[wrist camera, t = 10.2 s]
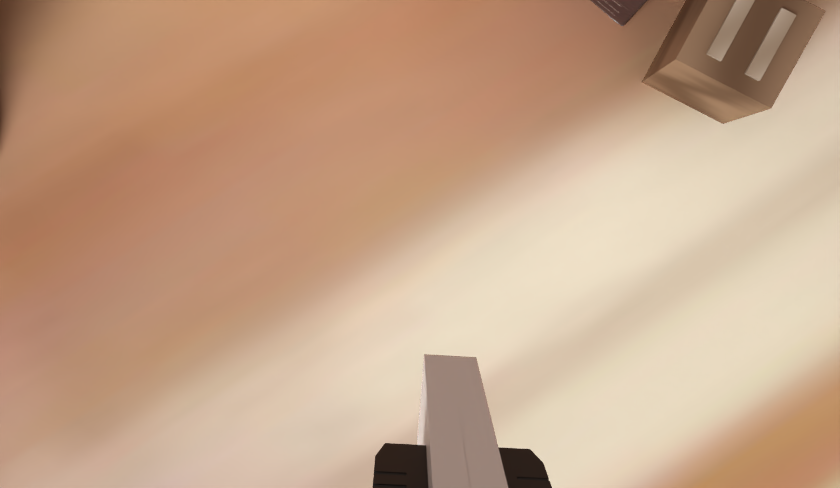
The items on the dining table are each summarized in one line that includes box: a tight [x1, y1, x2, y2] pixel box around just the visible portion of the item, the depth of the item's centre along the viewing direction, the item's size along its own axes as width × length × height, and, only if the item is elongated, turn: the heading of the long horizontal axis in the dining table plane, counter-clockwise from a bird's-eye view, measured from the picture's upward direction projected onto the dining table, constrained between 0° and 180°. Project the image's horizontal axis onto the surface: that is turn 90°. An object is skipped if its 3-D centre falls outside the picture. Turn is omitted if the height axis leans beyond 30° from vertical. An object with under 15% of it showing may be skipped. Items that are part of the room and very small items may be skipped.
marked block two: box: [642, 0, 825, 124], centre depth 36 cm, size 6×6×6 cm
